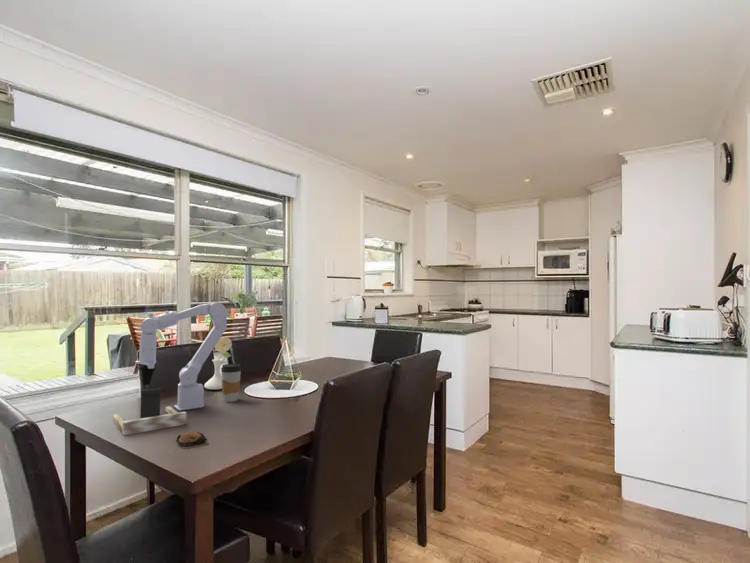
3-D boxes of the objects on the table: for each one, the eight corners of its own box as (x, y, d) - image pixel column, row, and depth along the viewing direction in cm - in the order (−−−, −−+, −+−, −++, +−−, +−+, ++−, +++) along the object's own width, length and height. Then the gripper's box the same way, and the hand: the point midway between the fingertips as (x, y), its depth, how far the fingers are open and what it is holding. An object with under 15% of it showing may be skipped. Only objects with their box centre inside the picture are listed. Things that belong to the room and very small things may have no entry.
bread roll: (211, 446, 131) (211, 434, 132) (182, 451, 126) (182, 439, 126) (200, 436, 140) (200, 425, 140) (172, 441, 134) (173, 429, 135)
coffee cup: (244, 399, 184) (245, 364, 185) (228, 403, 177) (229, 367, 178) (232, 396, 189) (232, 362, 189) (216, 400, 182) (216, 365, 182)
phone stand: (159, 425, 148) (160, 390, 149) (139, 427, 146) (140, 392, 146) (159, 418, 156) (160, 385, 157) (141, 420, 154) (142, 386, 154)
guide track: (170, 410, 167) (170, 399, 167) (185, 424, 150) (186, 412, 150) (113, 418, 155) (113, 407, 155) (123, 435, 138) (123, 422, 138)
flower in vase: (199, 390, 199) (200, 337, 200) (212, 385, 210) (213, 334, 211) (224, 392, 197) (226, 338, 198) (236, 386, 208) (238, 335, 209)
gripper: (132, 347, 168) (131, 382, 168) (140, 352, 157) (138, 389, 156) (152, 346, 173) (150, 380, 172) (161, 351, 161) (159, 387, 161)
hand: (146, 384), depth 165 cm, fingers closed
